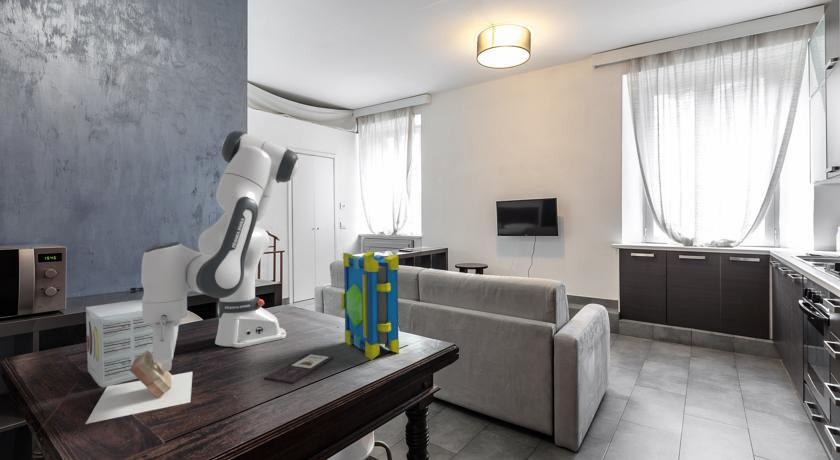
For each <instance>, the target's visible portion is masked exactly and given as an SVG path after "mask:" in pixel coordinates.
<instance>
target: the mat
mask: <svg viewBox="0 0 840 460" xmlns="http://www.w3.org/2000/svg"><path fill="white" fill-rule="evenodd" d="M171 375H172V376H173V380H172V385H171V389H169V390H168V391H167V392H165V393H164V394H163V395H162V396H160V397H159V398H157V397H156V396H155V395H154V394H153V393H152V392H151V391H150V390H149V389H148V388H147V387H146V386H145V385H144V384H143V383H142V382H141V381H140V380H137V381H136V380H135V381H131V382H130V381H129V382H126V383H125V382H123V383H118V384H114V385H110V386H106V387H105V390H104V392H103V393H102V395H101V396H100V398H99V400H98V402H97V403H96V405H95V407H94V408H93V410H92V412H91V414H90V415H89V417H88V419H87V420H86V422H85V425H88V424H92V423H93V424H94V423H98V422H103V421H107V420H111V419H117V418H122V417H125V416H131V415H135V414H140V413H145V412H150V411H155V410H160V409H164V408H169V407H174V406H179V405H185V404H188V403H191V399H192V398H191V397H192V387H193V385H192V383H193V371H188V372H183V373H177V374H171Z"/></svg>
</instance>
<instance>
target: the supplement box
mask: <svg viewBox="0 0 840 460" xmlns="http://www.w3.org/2000/svg"><path fill="white" fill-rule="evenodd" d="M85 320H86V321H85V322H86V325H85V327H86V351H87V352H86V355H87V357H86V358H87V372H88V373H89V374H90V375H91V378H92V379H93V380H94V381H95V383H96V384H97V386H99V387H100V388H107V386H113V385H119V384H123V383H125V382H128V381H129V382H130V381H133V380H135V379H136V380H137V379H138V378H137V377H136V376H135V375H134V374H133V373H132V372H131V371H130V368H131V366H132V364H133V362H134V360H135V359H136V358H137V357H139V356H140V355H141V354H143V353H144V352H146V351H147V350H148V351H149V352H150V353H151V354H152V355H153V329H151V328H150V327H149V325H150V324H149V323H145V322H143V316H142V299H136V300H135V299H134V300H128V301H119V302H113V303H106V304H98V305H93V306H92V305H91V306H85ZM160 363H161V362H160Z"/></svg>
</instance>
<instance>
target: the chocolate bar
mask: <svg viewBox="0 0 840 460" xmlns="http://www.w3.org/2000/svg"><path fill="white" fill-rule="evenodd" d="M333 359H334V357H332V356H331V357H330V356H325V355H324V356H323V355H316V354H310V353H307V354H304V355H303V356H301V357H299V358H297V359H295V360H294V361H291V362H290V363H288V364H286V365H284V366H283V367H280V368H278V369H277V370H275V371H273V372H272V373H270V374H268V375H266V376H264V377H263V379H264V380H266V381H272V382H278V383H282V384H283V383H285V384H291V385H294V384H295V383H297V382H299V381H301V380H302V379H304V378H305V377H308V375H310V374H312V373H313V372H315V371H317V370H318V369H320V368H321V367H323V366H325V365H327V364H328V363H329V362H331V361H333Z"/></svg>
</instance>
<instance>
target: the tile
mask: <svg viewBox="0 0 840 460" xmlns="http://www.w3.org/2000/svg"><path fill="white" fill-rule="evenodd" d="M130 371H131V372H132V373H133V374H134V375H135V376H136V377H137V379H138V381H141V382H142V383H143V384H144V385H145V386H146V387H147V388H148V389H149V390H150V391H151V392H152V393H153V394H154V395H155V396H156V397H157V398H159V397H160V396H162V395H163V394H164V393H165V392H167V391H168V390H169V389H171V385H172V380H173V376H172V375H173V374H172V373H170V372H169V371H165V372H163V371H162V364H161V363H154V361H153V355H152V354H151V353H150V352H149V351H148V350H147V351H146V352H144V353H143V354H141V355H140V356H139V357H137V358H136V359H135V360H134V362H133V364H132V366H131V368H130Z"/></svg>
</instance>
